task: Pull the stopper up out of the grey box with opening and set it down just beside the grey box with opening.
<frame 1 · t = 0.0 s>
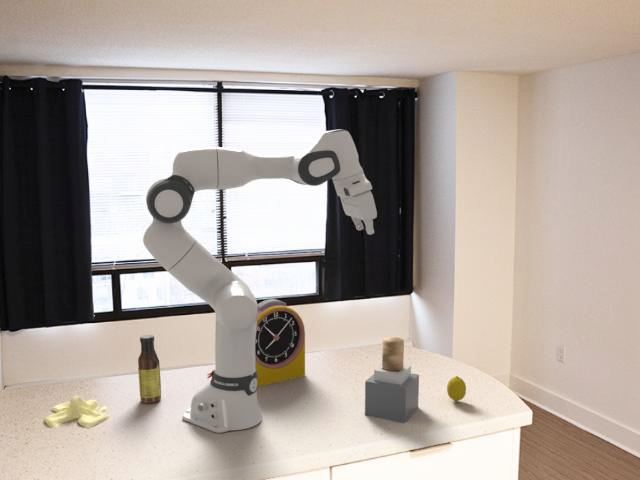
hand: (365, 231, 174), 52 cm above the counter, tool tilted 20°, fingers open, 8 cm apart
alarm clock: (272, 377, 205), on the counter
lemon: (456, 402, 185), on the counter
sauce bottle: (150, 400, 186), on the counter
pale yellow lumpy piece: (80, 415, 177), on the counter
grey box with opening: (391, 411, 178), on the counter
stopper: (392, 377, 177), point 10 cm above the counter, touching grey box with opening
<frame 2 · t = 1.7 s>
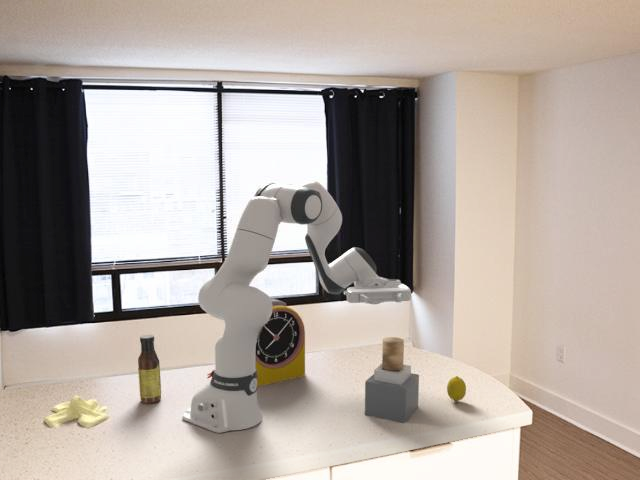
hand: (383, 300, 186), 30 cm above the counter, tool horizontal, fingers open, 8 cm apart
nothing on the counter moved.
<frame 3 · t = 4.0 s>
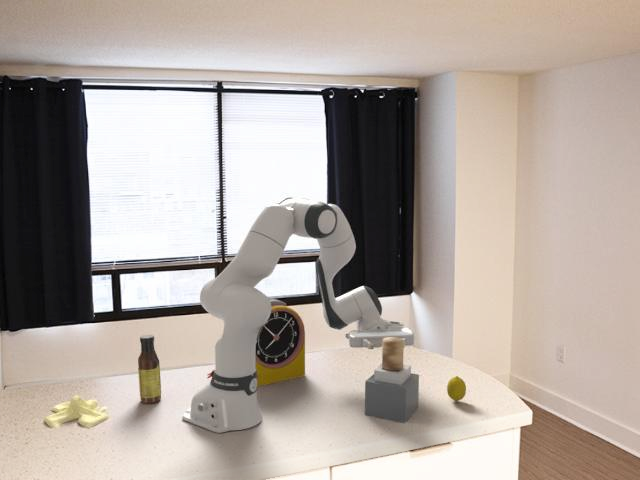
hand: (386, 346, 183), 17 cm above the counter, tool horizontal, fingers open, 8 cm apart
nothing on the counter moved.
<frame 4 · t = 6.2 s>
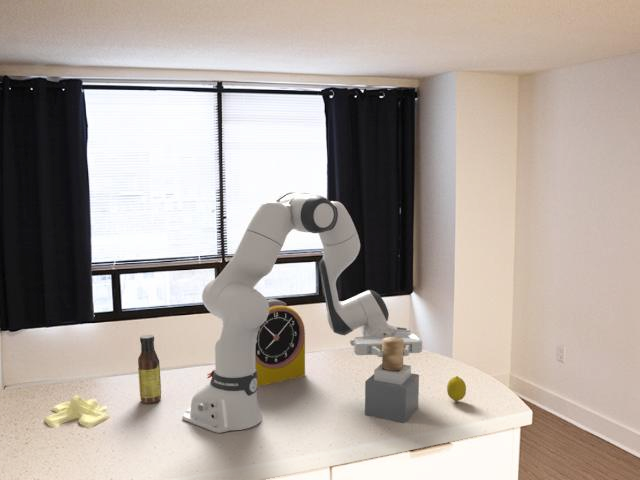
hand: (393, 353, 175), 18 cm above the counter, tool horizontal, fingers closed on stopper, 6 cm apart
stopper: (392, 377, 177), point 10 cm above the counter, touching grey box with opening, gripper
everything else where it was.
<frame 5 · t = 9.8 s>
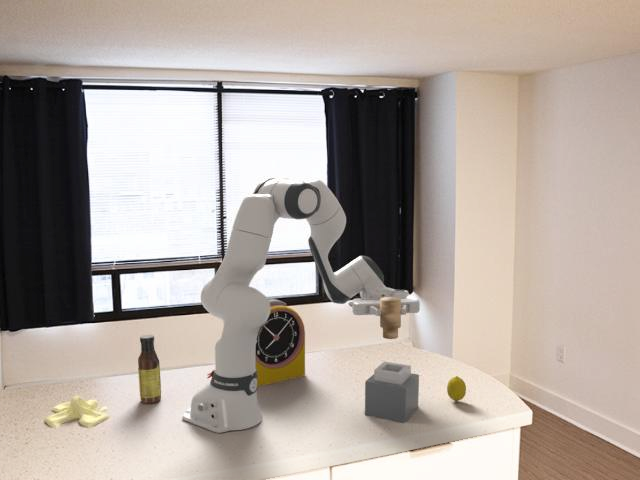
hand: (391, 312, 178), 28 cm above the counter, tool horizontal, fingers closed on stopper, 6 cm apart
stopper: (390, 336, 180), point 21 cm above the counter, touching gripper
everything else where it was.
when the fingers open (9 cm above the counter, at t = 13.5 s): stopper drops 2 cm, on the counter.
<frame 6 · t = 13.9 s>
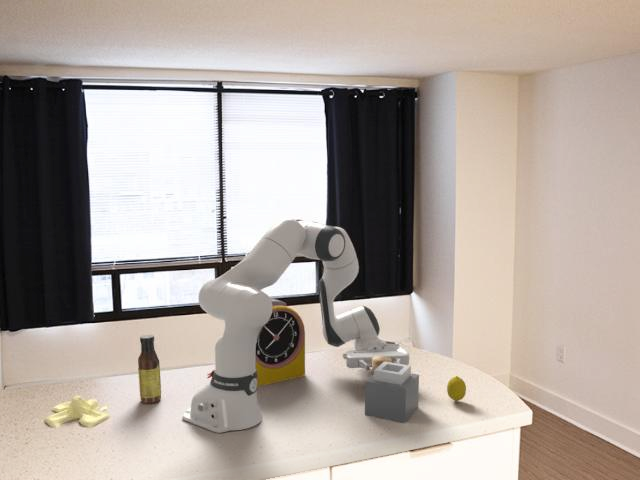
hand: (382, 366, 189), 9 cm above the counter, tool horizontal, fingers open, 8 cm apart
stopper: (381, 393, 191), on the counter
everything else where it was.
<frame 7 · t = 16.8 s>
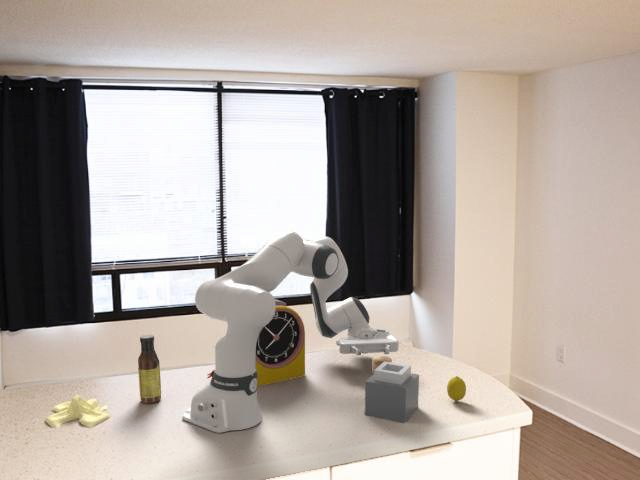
hand: (373, 352, 202), 9 cm above the counter, tool horizontal, fingers open, 8 cm apart
nothing on the counter moved.
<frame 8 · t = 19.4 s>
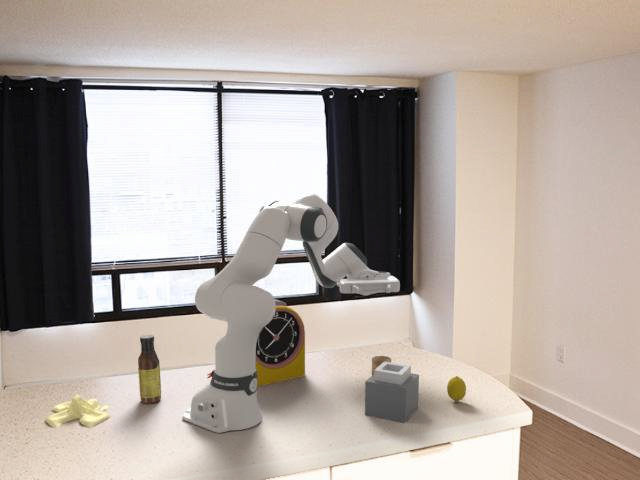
hand: (374, 290, 199), 30 cm above the counter, tool horizontal, fingers open, 8 cm apart
nothing on the counter moved.
at the end: stopper inside the target area (0.4 cm from its centre), on the counter; stopper tilted 1°; stopper touching counter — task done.
